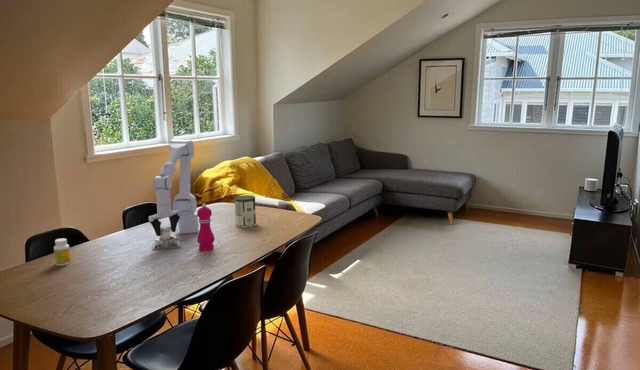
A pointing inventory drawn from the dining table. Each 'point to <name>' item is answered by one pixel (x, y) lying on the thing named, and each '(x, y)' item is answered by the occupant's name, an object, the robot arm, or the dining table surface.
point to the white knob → (165, 233)
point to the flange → (166, 243)
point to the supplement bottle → (62, 252)
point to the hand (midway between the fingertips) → (166, 233)
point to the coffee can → (245, 211)
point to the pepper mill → (205, 229)
